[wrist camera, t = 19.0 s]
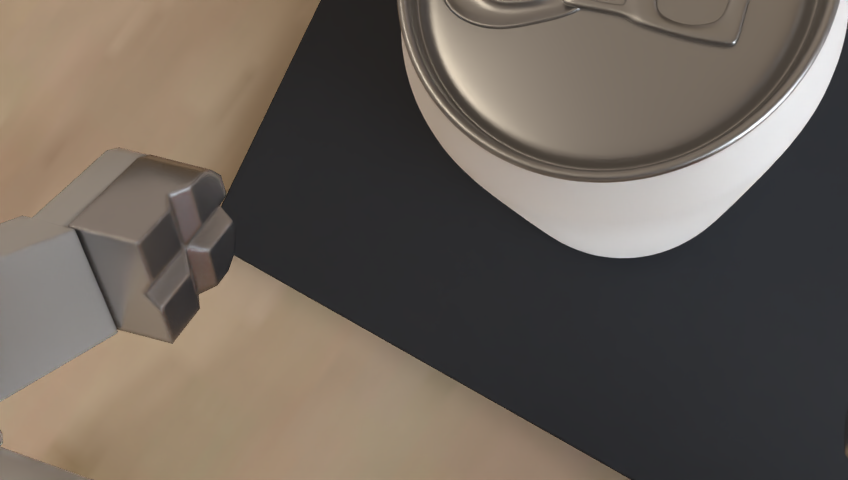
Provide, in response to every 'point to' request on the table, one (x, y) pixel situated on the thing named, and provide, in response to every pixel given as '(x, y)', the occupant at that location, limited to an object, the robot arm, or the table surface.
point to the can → (619, 105)
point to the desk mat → (560, 275)
